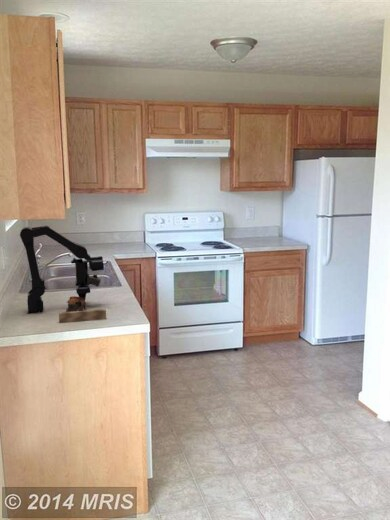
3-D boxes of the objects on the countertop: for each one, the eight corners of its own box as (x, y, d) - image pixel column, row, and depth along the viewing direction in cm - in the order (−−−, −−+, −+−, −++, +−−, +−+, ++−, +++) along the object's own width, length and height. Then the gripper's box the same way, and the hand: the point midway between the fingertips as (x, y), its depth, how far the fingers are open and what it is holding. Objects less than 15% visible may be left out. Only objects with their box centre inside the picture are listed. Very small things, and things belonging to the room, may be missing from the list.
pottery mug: (60, 313, 219) (63, 296, 221) (77, 318, 225) (80, 301, 228) (76, 311, 211) (79, 293, 214) (92, 316, 218) (95, 299, 220)
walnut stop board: (59, 322, 204) (58, 313, 203) (59, 321, 206) (58, 312, 205) (106, 318, 209) (105, 310, 208) (105, 317, 211) (105, 308, 210)
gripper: (100, 274, 217) (102, 307, 220) (97, 267, 235) (99, 297, 238) (75, 276, 214) (77, 309, 217) (74, 268, 232) (76, 299, 235)
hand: (83, 303), depth 227 cm, fingers closed
